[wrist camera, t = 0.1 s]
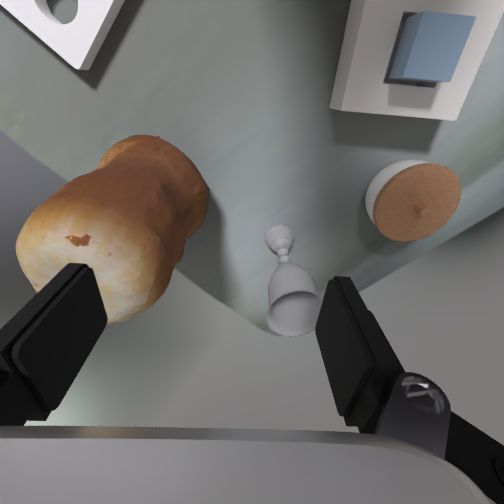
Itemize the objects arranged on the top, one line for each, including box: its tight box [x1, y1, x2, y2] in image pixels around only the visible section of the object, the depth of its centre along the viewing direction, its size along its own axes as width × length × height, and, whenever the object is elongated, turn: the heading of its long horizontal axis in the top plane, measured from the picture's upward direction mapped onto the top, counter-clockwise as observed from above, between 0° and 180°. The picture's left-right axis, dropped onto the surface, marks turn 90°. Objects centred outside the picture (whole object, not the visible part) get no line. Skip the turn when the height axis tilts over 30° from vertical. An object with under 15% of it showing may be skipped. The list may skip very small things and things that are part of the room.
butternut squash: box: [16, 135, 209, 325], centre depth 29 cm, size 14×13×25 cm
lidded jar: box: [365, 160, 461, 242], centre depth 37 cm, size 11×11×9 cm
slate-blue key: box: [389, 11, 476, 82], centre depth 26 cm, size 5×5×3 cm
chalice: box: [265, 225, 323, 337], centre depth 37 cm, size 7×7×18 cm
